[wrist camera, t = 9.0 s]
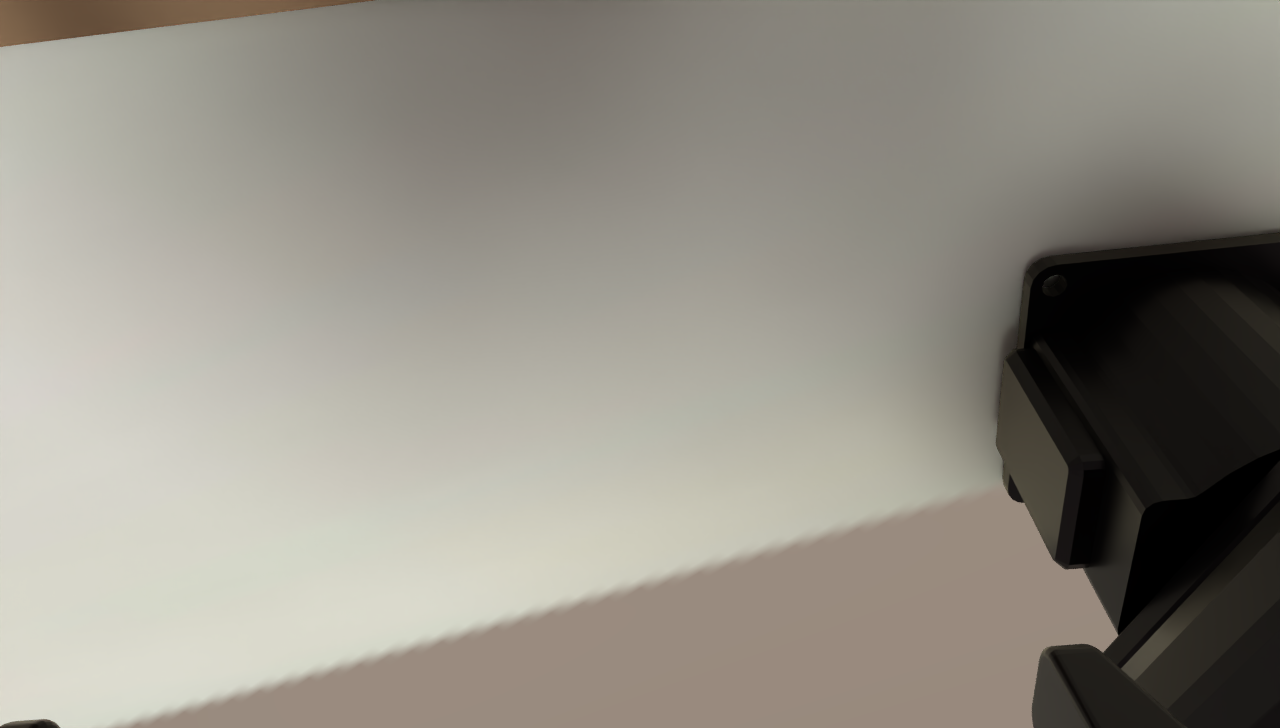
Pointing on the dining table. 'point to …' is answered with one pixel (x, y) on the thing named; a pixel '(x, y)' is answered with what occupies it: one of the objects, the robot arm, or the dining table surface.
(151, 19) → the brown tray
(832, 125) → the dining table surface
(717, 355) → the dining table surface
